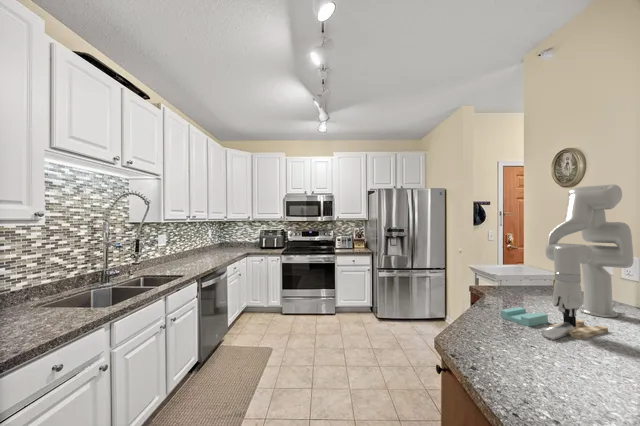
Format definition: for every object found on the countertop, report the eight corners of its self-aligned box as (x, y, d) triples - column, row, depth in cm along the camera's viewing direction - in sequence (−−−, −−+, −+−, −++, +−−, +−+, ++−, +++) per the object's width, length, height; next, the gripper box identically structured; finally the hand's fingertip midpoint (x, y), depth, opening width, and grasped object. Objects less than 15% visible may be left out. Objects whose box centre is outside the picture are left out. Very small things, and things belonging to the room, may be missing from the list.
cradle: (519, 315, 130) (518, 306, 130) (548, 324, 119) (547, 314, 119) (500, 319, 126) (500, 310, 126) (528, 328, 114) (528, 318, 115)
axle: (561, 329, 109) (562, 320, 109) (573, 335, 106) (574, 325, 105) (541, 337, 105) (542, 327, 104) (553, 343, 101) (554, 333, 101)
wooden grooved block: (576, 324, 117) (576, 319, 117) (608, 333, 108) (608, 327, 108) (548, 331, 111) (548, 325, 111) (579, 341, 102) (579, 334, 102)
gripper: (568, 274, 114) (570, 320, 114) (544, 277, 109) (546, 325, 109) (591, 277, 107) (593, 326, 107) (566, 281, 102) (569, 332, 102)
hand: (569, 325), depth 108 cm, fingers closed
